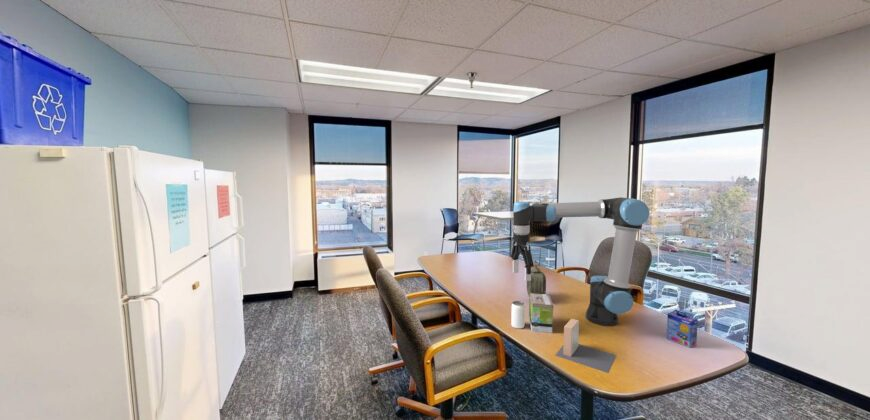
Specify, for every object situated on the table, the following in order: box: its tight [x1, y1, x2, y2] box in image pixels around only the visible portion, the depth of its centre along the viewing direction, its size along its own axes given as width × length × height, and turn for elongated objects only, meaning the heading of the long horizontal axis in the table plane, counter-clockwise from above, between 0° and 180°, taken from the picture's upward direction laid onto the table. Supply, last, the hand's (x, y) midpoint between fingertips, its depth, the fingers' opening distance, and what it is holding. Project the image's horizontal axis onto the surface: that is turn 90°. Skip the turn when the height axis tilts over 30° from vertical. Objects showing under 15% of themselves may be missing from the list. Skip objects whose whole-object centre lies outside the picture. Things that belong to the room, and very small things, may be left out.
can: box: [510, 300, 526, 330], centre depth 163 cm, size 6×6×12 cm
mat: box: [554, 343, 618, 374], centre depth 135 cm, size 20×16×1 cm
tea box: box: [528, 293, 554, 334], centre depth 162 cm, size 15×10×15 cm
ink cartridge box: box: [666, 310, 699, 349], centre depth 146 cm, size 10×6×14 cm, turn 27°
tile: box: [563, 318, 580, 357], centre depth 138 cm, size 3×10×12 cm, turn 141°
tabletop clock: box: [526, 259, 547, 298], centre depth 196 cm, size 14×9×25 cm, turn 172°
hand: (521, 276), depth 159 cm, fingers open, 13 cm apart
